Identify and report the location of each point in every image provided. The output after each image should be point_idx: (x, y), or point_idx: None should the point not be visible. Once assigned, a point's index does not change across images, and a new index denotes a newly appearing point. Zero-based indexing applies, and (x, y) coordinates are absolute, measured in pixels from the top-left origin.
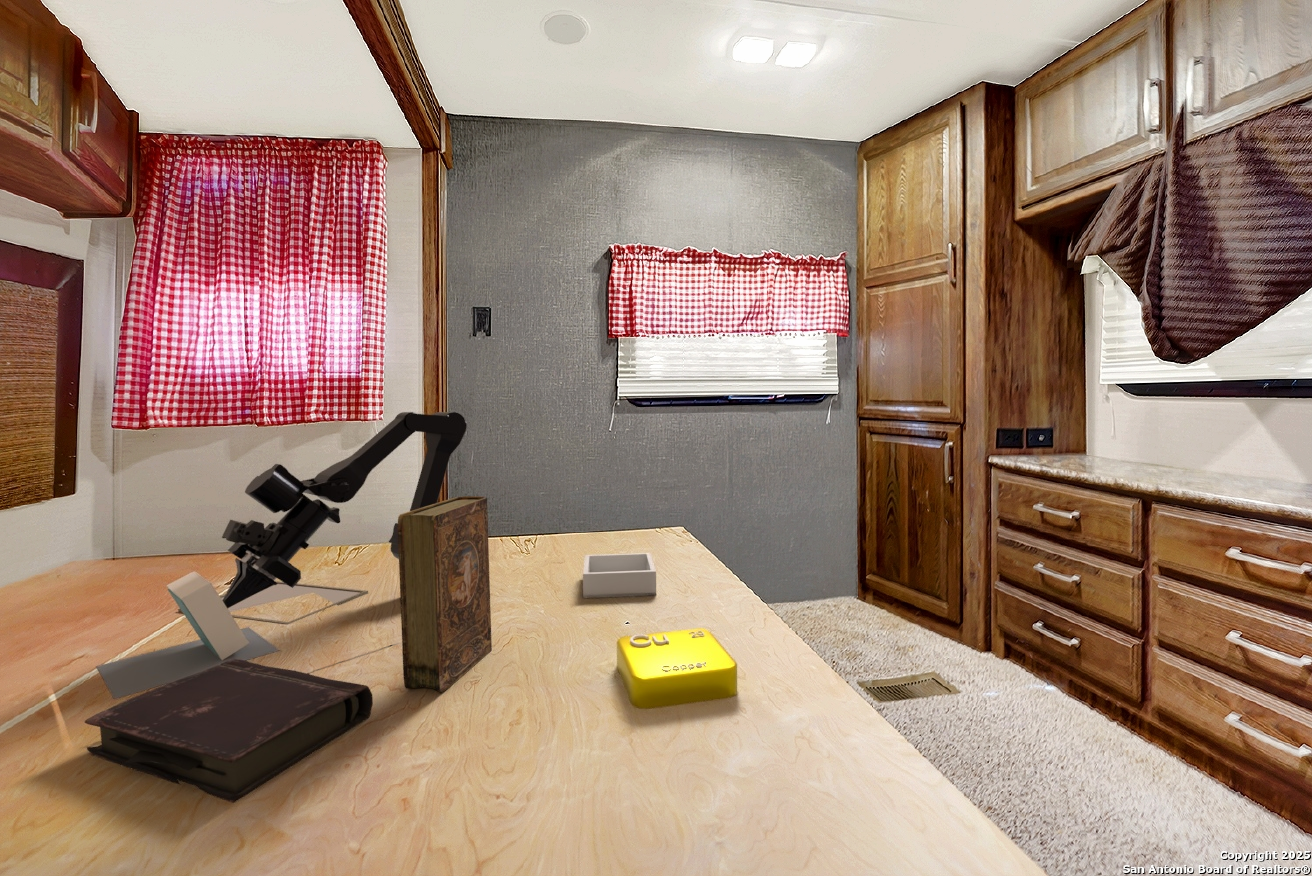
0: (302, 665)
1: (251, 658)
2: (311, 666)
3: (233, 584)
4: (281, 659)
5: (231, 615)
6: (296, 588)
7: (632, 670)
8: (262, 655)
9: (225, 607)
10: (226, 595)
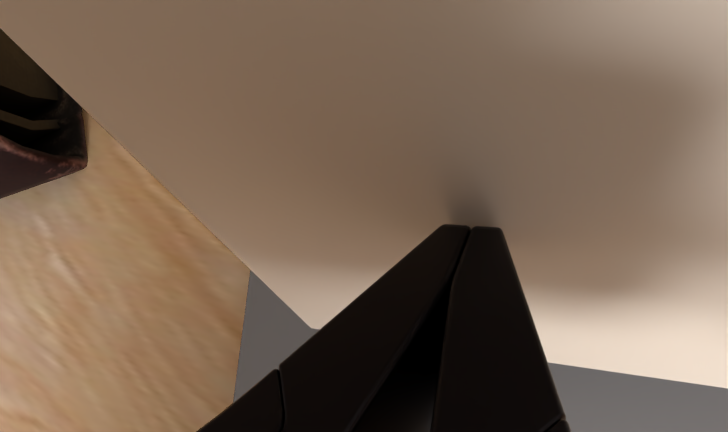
0: (48, 397)
1: (250, 295)
2: (15, 410)
3: (438, 409)
4: (166, 383)
5: (198, 218)
6: None
7: None
8: (242, 343)
9: (148, 161)
10: (466, 285)
